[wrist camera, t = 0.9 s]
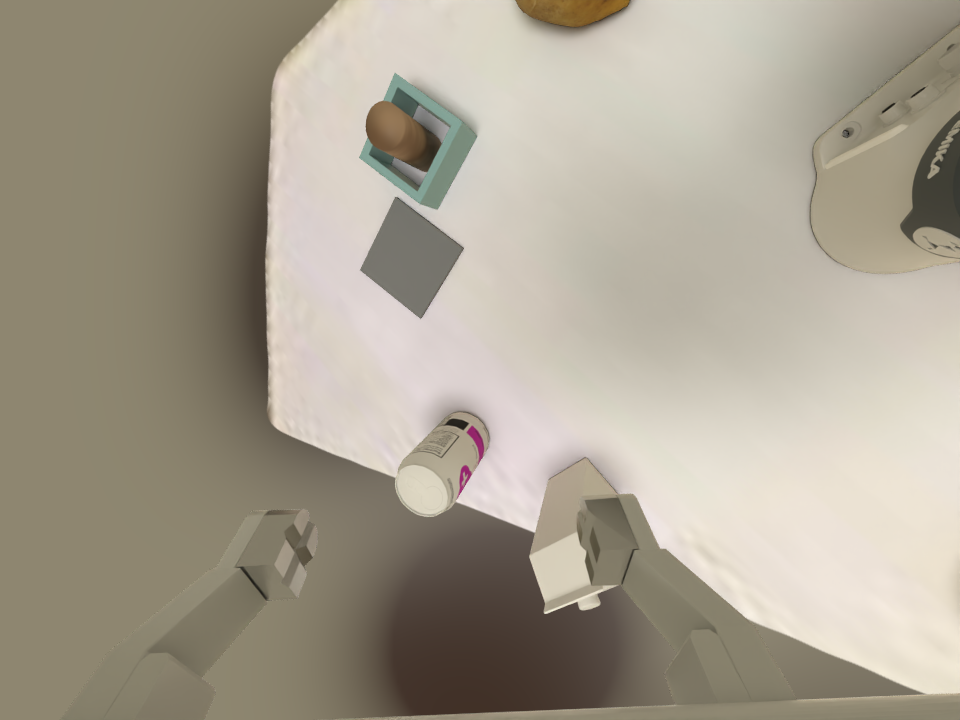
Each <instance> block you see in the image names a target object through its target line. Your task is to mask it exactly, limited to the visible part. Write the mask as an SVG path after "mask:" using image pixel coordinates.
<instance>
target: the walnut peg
mask: <svg viewBox="0 0 960 720" xmlns="http://www.w3.org/2000/svg"><path fill="white" fill-rule="evenodd" d="M366 133H367V136H368V139H369V141H370V142H371V143H372V145H373V146H375V147H376V148H378V149H380V150H382V151H384V152H386V153H388V154H389V155H391V156H393V157H395V158H397V159H399V160H401V161H403V162H405V163H407V164H409V165H411V166H413V167H415V168H417V169H419V170H421V171H424V172H428V170H429V168H430V166H431V164H432V162H433V160H434V158H435V156H436V154H437V152H438V150H439V149H440V147H441V145H442V144H441V142H440V140H439V139H438V137H436V136H435V135H434V134H433V133H431V132H430V131H429V130H427V129H426V128H425V127H423V126H422V125H421V124H419V123H418V122H417V121H415V120H414V119H413V118H411V117H410V116H409V115H407V114H406V113H405V112H404V111H402V110H401V109H400V108H398V107H397V106H396V105H394V104H393V103H391V102H389V101H381V102H378V103H376V104H375V105H374V106H373V107H372V108H371V109H370V111H369V113H368V116H367V119H366Z"/></svg>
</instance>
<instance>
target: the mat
mask: <svg viewBox="0 0 960 720" xmlns="http://www.w3.org/2000/svg"><path fill="white" fill-rule="evenodd" d="M463 249H464V248H462V247H461V246H460V245H459V244H457V243H456V242H455V241H453V240H452V239H451V238H449V237H448V236H447V235H446V234H444V233H443V232H442V231H440V230H439V229H438V228H436V227H435V226H434V225H432V224H431V223H430V222H429V221H427V220H426V219H425V218H423V217H422V216H421V215H419V214H418V213H417V212H415V211H414V210H413V209H412V208H410V207H409V206H408V205H406V204H405V203H404V202H402V201H401V200H400V199H399V198H397V197H395V199H394V201H393V203H392V205H391V207H390V209H389V211H388V214H387V216H386V218H385V220H384V222H383V224H382V226H381V228H380V230H379V232H378V234H377V236H376V238H375V240H374V242H373V245H372V247H371V249H370V251H369V253H368V255H367V257H366V259H365V261H364V263H363V265H362V267H361V269H360V270H361V271H362V272H363V273H364V274H366V275H367V276H368V277H369V278H371V279H372V280H373V281H374V282H376V283H377V284H378V285H379V286H381V287H382V288H383V289H384V290H385V291H387V292H388V293H389V294H390V295H392V296H393V297H394V298H395V299H397V300H398V301H399V302H400V303H402V304H403V305H404V306H405V307H407V308H408V309H409V310H410V311H412V312H413V313H414V314H415V315H417V316H418V317H419V318H422V317H423V315H424V313H425V312H426V310H427V308H428V307H429V305H430V303H431V302H432V300H433V299H434V297H435V295H436V294H437V292H438V290H439V289H440V287H441V285H442V284H443V282H444V280H445V279H446V277H447V275H448V274H449V272H450V271H451V269H452V267H453V266H454V264H455V262H456V261H457V259H458V257H459V256H460V254H461V252H462V251H463Z"/></svg>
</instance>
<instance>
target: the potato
mask: <svg viewBox="0 0 960 720" xmlns="http://www.w3.org/2000/svg"><path fill="white" fill-rule="evenodd" d="M629 1H630V0H516V2H517V4H518V6H519V7H520V9H521V10H522V11H523V12H524V13H526V14H527V15H529V16H530V17H532V18H535V19H538V20H541V21H545V22H549V23H553V24H558V25H563V26H570V27H579V26H584V25H587V24H590V23H592V22H594V21H597V20H601V19H603V18H604V17H606V16H608V15H610V14H612V13H615V12H617V11H620V10H621V9H622V8H624V7H627V6H628V3H629Z"/></svg>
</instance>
